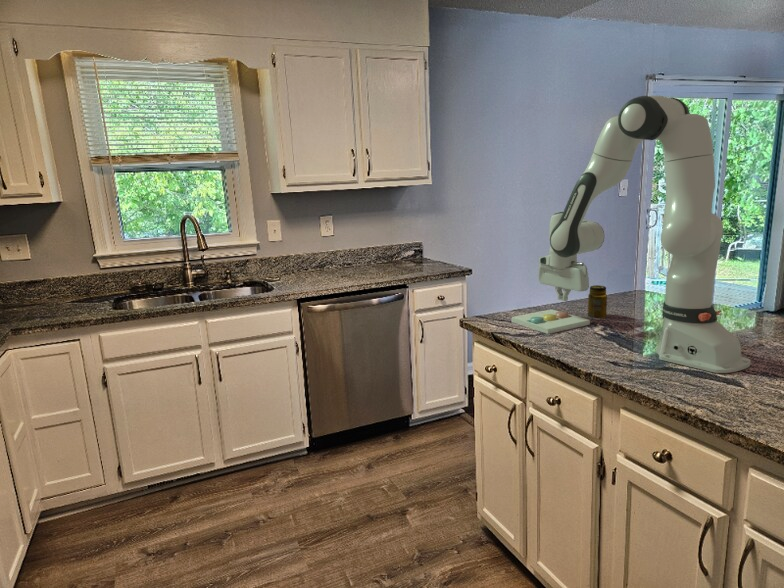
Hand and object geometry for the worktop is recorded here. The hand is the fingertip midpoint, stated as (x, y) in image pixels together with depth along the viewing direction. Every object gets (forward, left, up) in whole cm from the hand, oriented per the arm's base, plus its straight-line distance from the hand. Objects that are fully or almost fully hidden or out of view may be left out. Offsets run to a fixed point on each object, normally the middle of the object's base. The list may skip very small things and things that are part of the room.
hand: (562, 300), depth 174 cm
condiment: (-3, -13, -9) cm, 16 cm away
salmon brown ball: (0, 0, -8) cm, 8 cm away
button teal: (0, +11, -8) cm, 14 cm away
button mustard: (0, +5, -8) cm, 10 cm away
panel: (0, +5, -9) cm, 10 cm away
